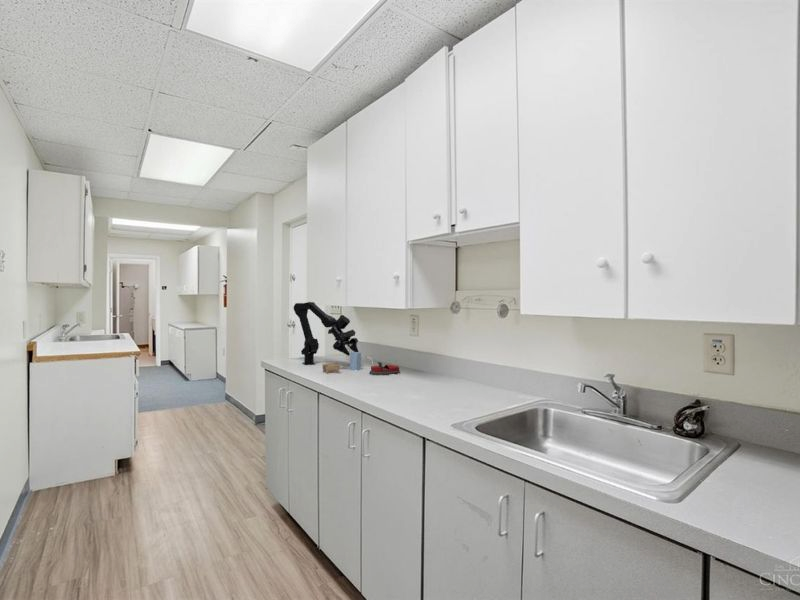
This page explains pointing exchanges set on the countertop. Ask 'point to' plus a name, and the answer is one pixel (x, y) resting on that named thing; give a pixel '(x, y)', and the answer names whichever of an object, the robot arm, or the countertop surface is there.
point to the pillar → (355, 361)
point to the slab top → (331, 366)
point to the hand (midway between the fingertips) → (353, 354)
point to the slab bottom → (330, 371)
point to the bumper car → (384, 369)
